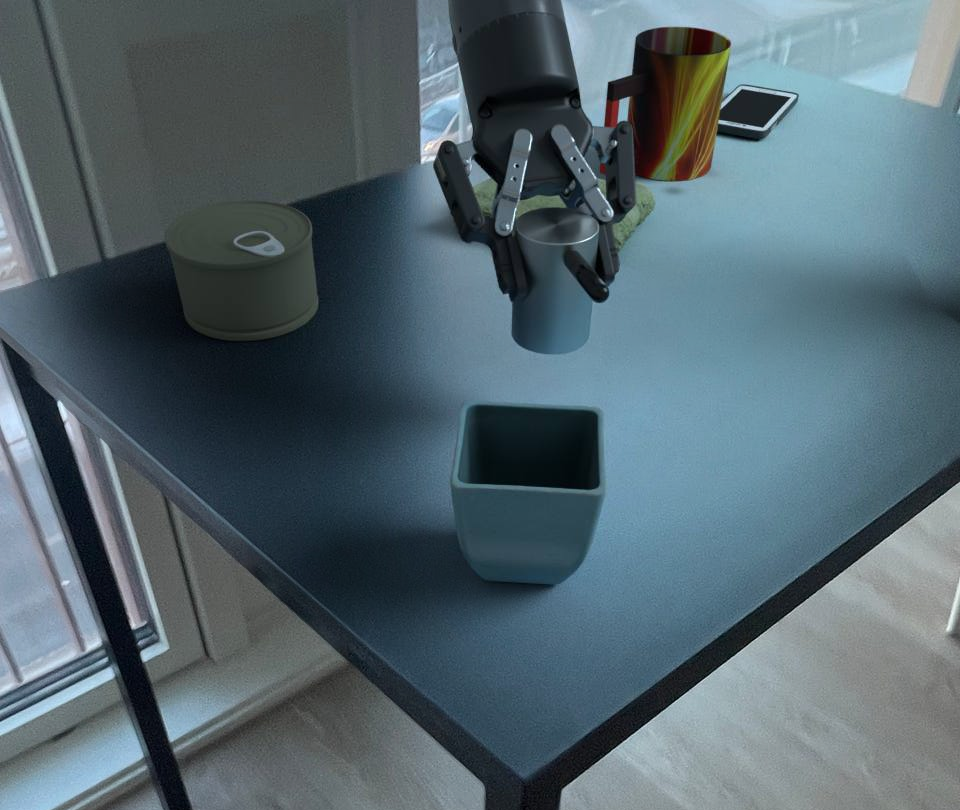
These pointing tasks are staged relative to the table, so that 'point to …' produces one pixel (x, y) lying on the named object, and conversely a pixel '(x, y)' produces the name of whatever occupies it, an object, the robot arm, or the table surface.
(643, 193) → the washcloth
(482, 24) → the robot arm
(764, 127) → the cell phone
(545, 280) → the metal cylinder with handle
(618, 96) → the mug
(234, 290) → the can
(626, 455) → the table surface
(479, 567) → the flower pot
